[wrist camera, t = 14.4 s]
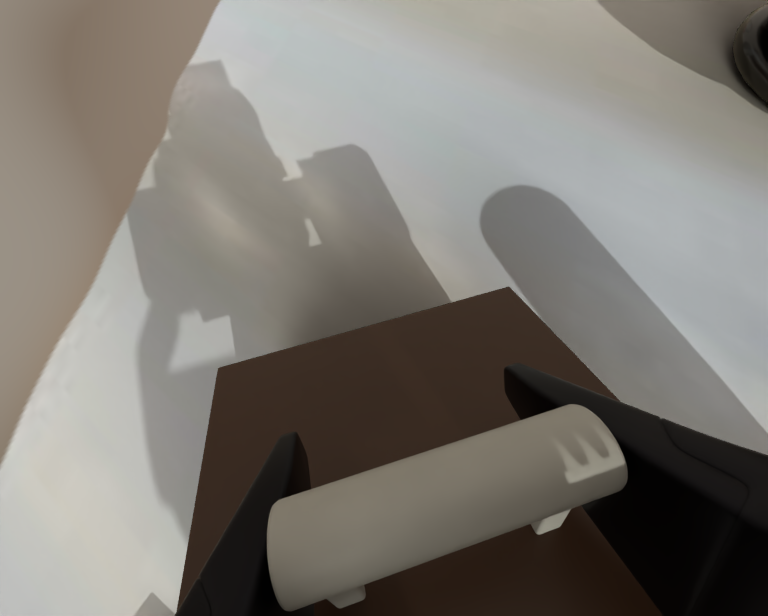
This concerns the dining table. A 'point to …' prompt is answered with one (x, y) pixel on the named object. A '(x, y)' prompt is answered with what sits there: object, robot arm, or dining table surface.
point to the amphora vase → (753, 51)
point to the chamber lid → (422, 472)
